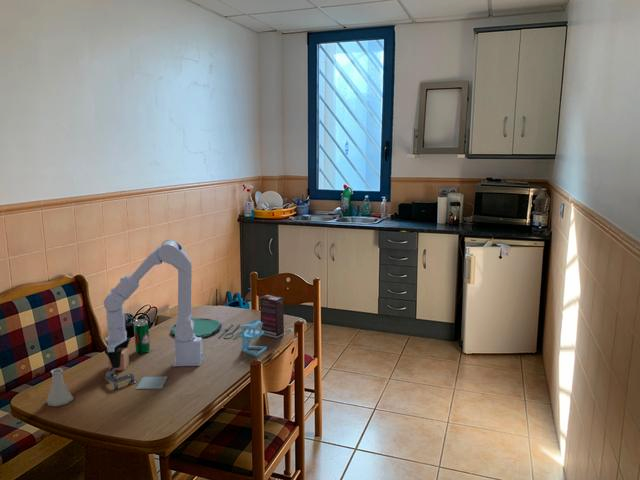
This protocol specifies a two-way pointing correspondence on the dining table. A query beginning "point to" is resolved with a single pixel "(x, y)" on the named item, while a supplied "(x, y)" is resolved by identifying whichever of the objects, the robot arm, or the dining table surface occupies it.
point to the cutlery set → (208, 328)
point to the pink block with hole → (122, 360)
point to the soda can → (141, 336)
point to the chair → (252, 337)
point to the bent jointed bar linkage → (111, 375)
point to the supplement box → (272, 316)
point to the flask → (58, 390)
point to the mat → (152, 383)
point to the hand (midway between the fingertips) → (119, 363)
